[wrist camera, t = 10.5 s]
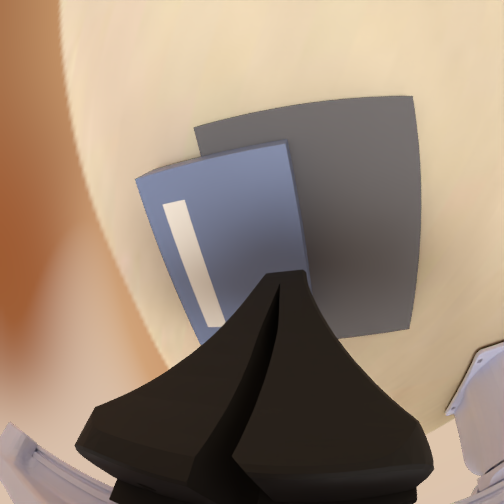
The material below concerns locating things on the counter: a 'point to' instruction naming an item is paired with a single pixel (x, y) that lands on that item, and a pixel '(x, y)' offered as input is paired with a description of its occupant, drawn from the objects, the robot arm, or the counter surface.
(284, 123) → the mat
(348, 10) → the counter surface
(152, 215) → the block
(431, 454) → the robot arm
